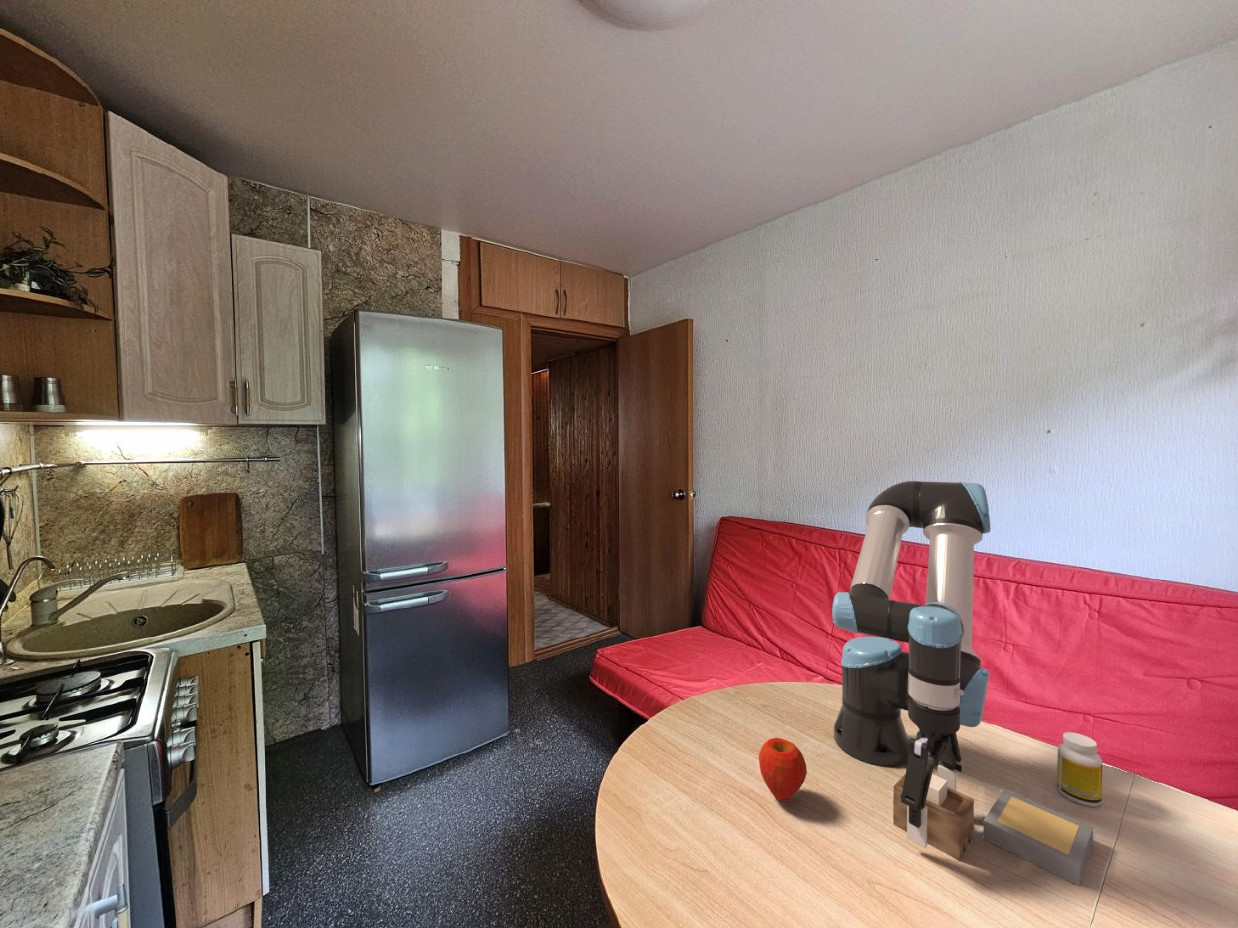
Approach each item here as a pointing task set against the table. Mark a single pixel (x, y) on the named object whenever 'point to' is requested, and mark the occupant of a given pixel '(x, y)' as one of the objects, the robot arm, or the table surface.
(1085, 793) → the pill bottle
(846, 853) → the table surface
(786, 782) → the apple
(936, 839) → the stained wood crate
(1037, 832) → the dock
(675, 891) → the table surface
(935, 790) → the block
